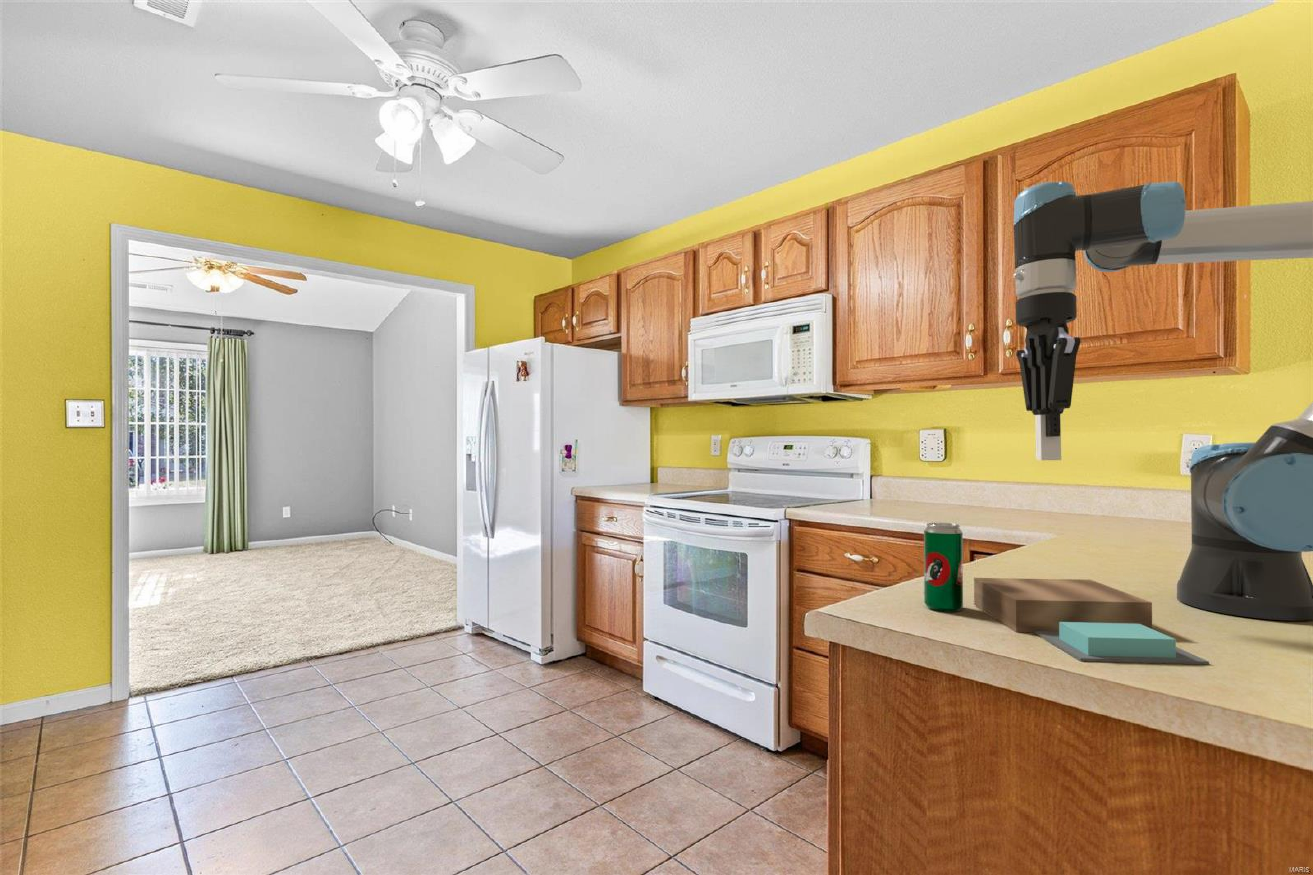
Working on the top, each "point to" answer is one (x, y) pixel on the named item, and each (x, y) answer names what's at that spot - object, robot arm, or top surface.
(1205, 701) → the top surface
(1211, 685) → the top surface
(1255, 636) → the top surface
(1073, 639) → the teal rectangular block
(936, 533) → the soda can
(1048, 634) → the mat
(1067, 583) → the brown wooden flat block
